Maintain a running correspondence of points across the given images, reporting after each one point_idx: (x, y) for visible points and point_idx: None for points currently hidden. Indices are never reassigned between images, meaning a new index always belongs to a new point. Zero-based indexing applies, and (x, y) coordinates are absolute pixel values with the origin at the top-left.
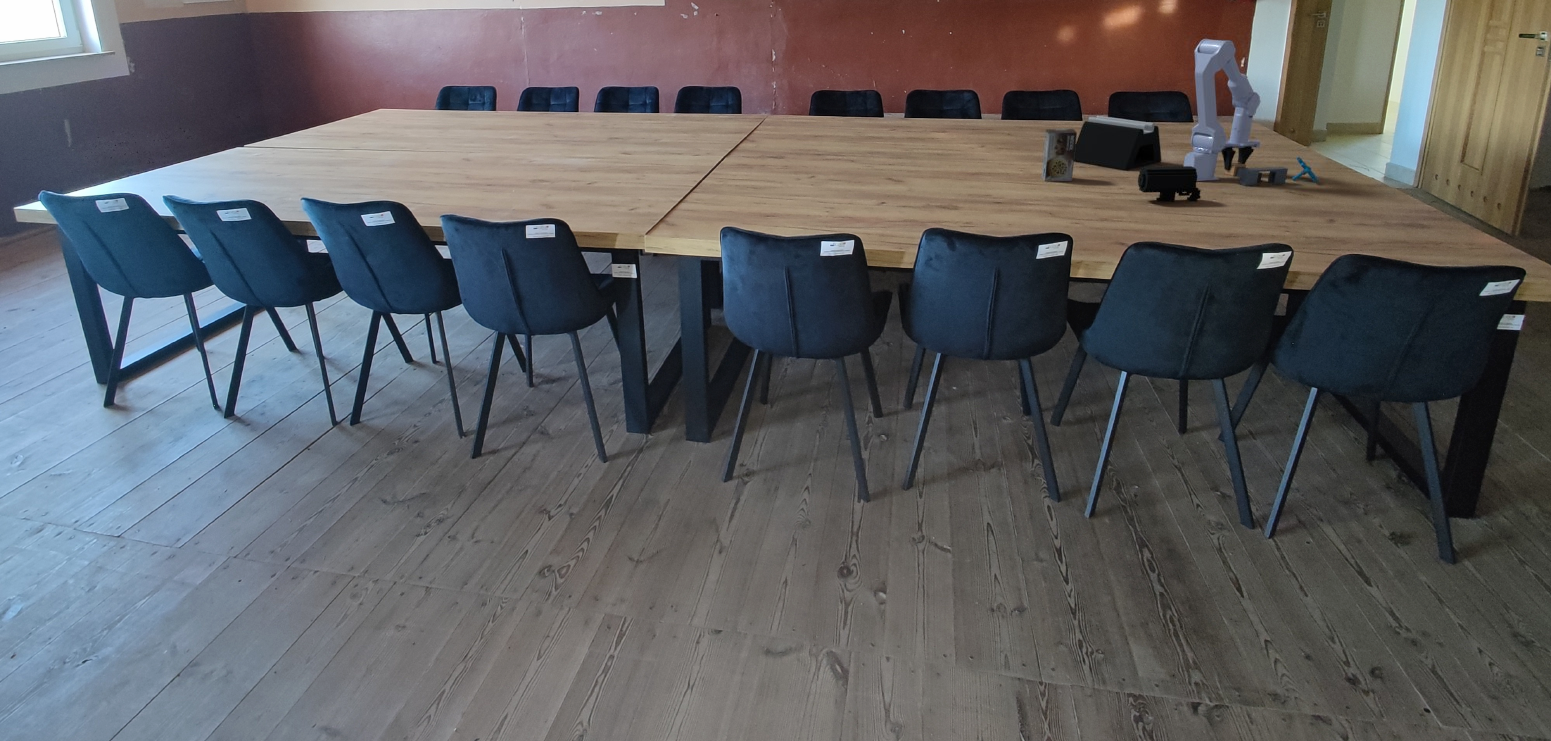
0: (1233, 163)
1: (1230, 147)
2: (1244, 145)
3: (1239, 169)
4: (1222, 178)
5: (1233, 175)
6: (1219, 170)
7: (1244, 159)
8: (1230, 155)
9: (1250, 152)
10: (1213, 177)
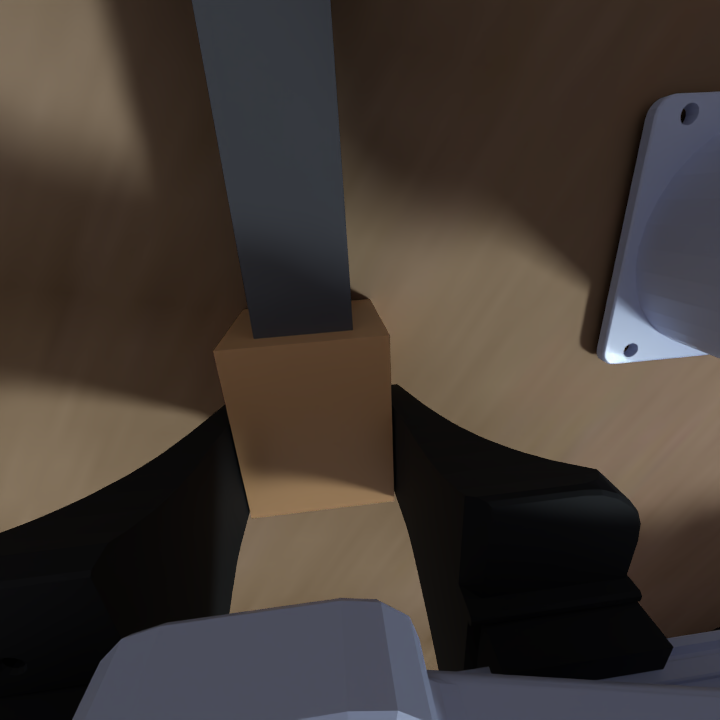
0: (347, 443)
1: (564, 674)
2: (316, 653)
3: (347, 264)
4: (532, 216)
5: (366, 302)
6: (357, 519)
7: (200, 460)
8: (513, 458)
9: (47, 536)
10: (700, 153)
